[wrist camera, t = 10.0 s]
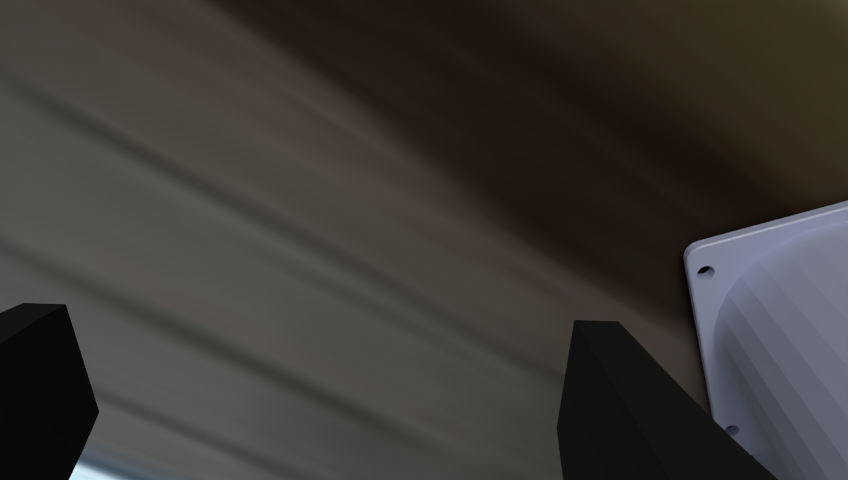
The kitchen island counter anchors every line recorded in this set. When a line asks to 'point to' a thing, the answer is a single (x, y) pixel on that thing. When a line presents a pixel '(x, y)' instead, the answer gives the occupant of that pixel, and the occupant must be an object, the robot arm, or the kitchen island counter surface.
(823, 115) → the kitchen island counter surface
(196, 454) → the kitchen island counter surface
